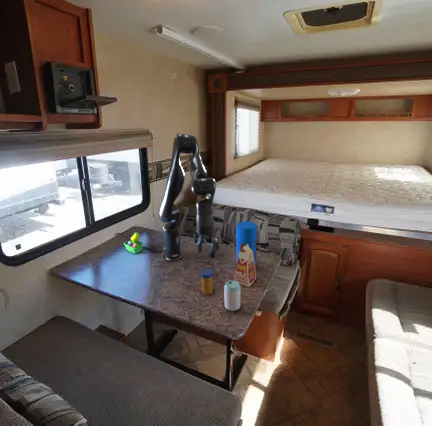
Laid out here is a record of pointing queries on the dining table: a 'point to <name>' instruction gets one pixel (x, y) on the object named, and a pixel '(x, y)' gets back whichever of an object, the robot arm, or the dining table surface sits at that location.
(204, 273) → the jar lid
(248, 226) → the thermos
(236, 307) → the can
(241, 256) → the milk carton
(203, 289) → the jar
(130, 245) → the fruit basket
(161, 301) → the dining table surface
